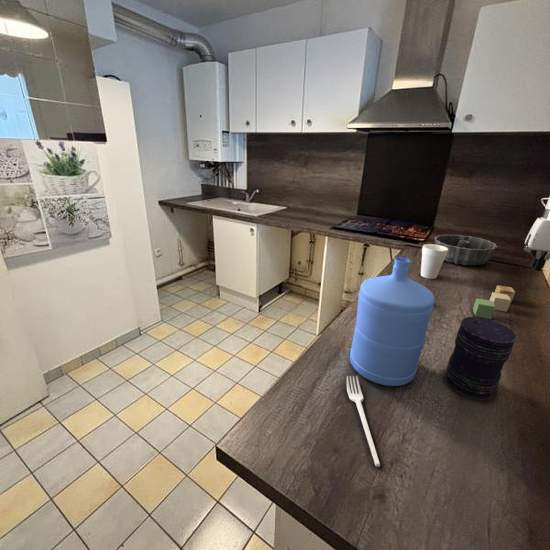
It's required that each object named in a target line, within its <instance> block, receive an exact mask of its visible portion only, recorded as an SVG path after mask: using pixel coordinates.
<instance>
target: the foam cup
mask: <svg viewBox="0 0 550 550" xmlns="http://www.w3.org/2000/svg"><path fill="white" fill-rule="evenodd" d="M447 253H448V248H446V247H444V246H440V245H435V243H434V244H433V243H426V244H423V245H422V248H421V263H420V276H421V277H422V278H425V279H430V280H434V279H437V278H438V275H439V274H440V271H441V268H442V266H443V264H444V262H445V261H444V259H445V257H446V255H447Z"/></svg>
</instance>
